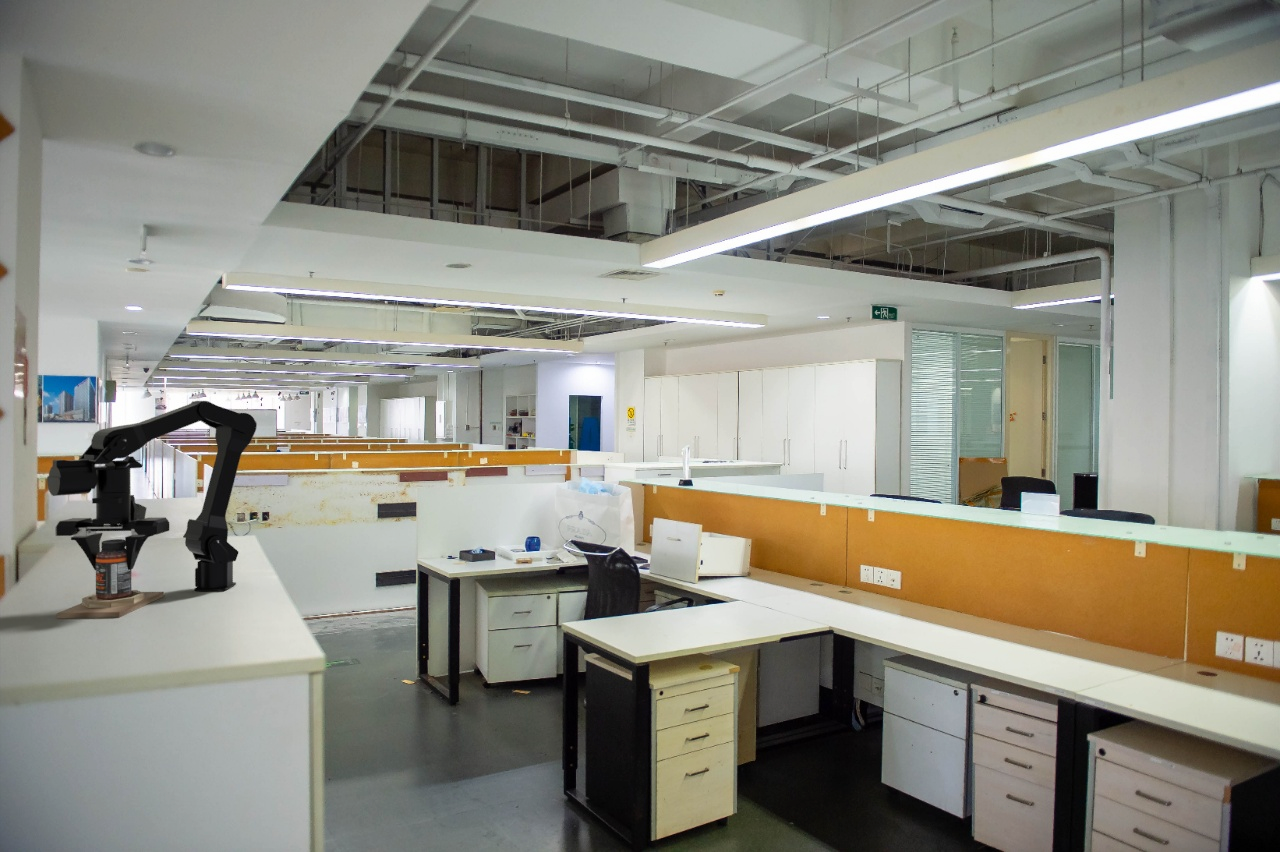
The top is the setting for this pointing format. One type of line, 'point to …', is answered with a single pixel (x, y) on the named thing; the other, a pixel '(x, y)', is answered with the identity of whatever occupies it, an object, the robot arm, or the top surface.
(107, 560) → the supplement bottle
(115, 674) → the top surface
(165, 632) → the top surface
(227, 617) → the top surface
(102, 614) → the wooden board with rim
